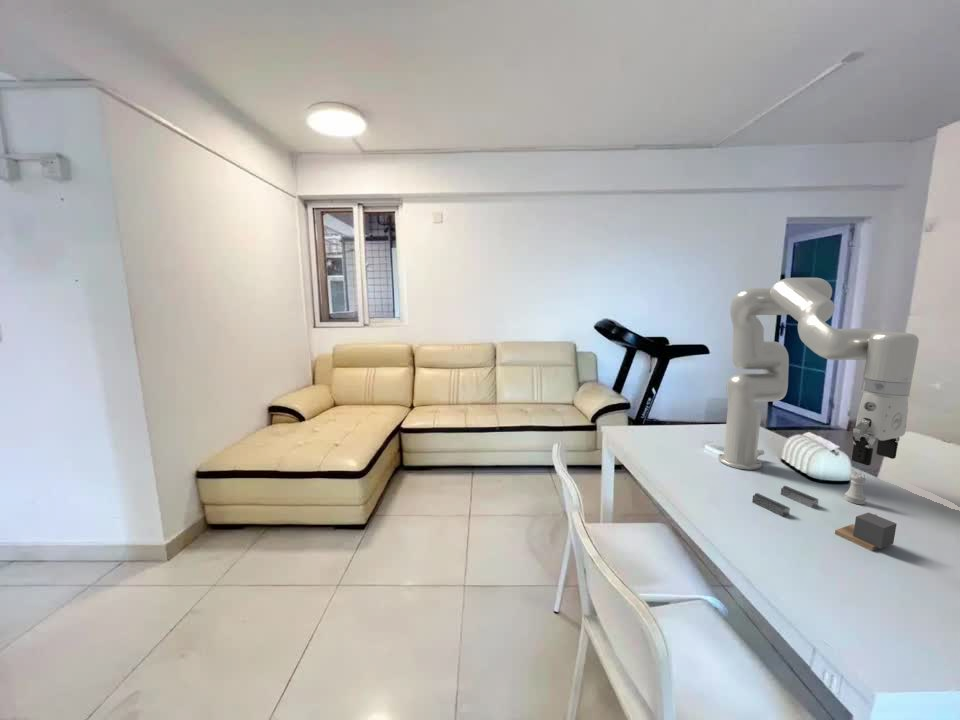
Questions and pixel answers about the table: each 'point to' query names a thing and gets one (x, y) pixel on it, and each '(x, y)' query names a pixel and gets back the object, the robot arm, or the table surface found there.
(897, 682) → the table surface
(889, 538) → the dark gray cube
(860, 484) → the rook chess piece
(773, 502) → the metal bars
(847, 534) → the pad
